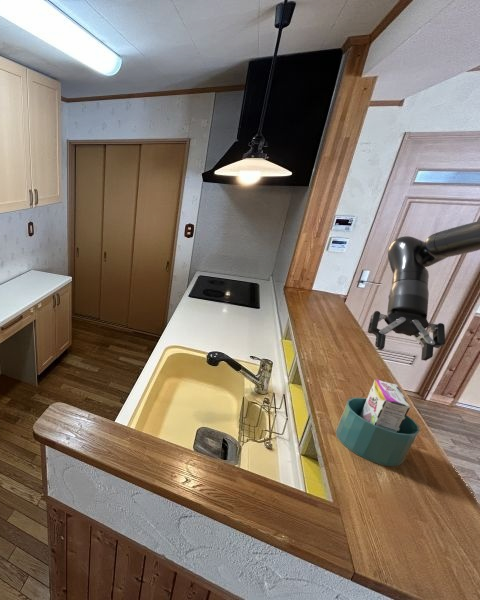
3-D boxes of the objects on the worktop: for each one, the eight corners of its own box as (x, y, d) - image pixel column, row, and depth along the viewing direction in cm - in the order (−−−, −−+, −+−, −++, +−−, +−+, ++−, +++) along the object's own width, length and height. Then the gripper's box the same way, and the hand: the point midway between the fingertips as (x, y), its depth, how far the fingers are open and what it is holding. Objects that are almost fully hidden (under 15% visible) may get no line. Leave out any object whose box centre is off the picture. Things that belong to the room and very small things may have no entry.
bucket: (388, 435, 92) (402, 406, 88) (415, 474, 79) (433, 442, 76) (328, 420, 97) (339, 392, 93) (345, 454, 84) (358, 423, 81)
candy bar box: (353, 426, 94) (374, 378, 88) (375, 433, 91) (398, 384, 86) (361, 451, 84) (385, 399, 79) (386, 459, 82) (412, 406, 77)
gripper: (379, 287, 88) (372, 340, 82) (453, 299, 81) (450, 358, 75) (368, 300, 94) (361, 350, 89) (436, 313, 87) (432, 367, 82)
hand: (402, 354), depth 82 cm, fingers open, 8 cm apart
